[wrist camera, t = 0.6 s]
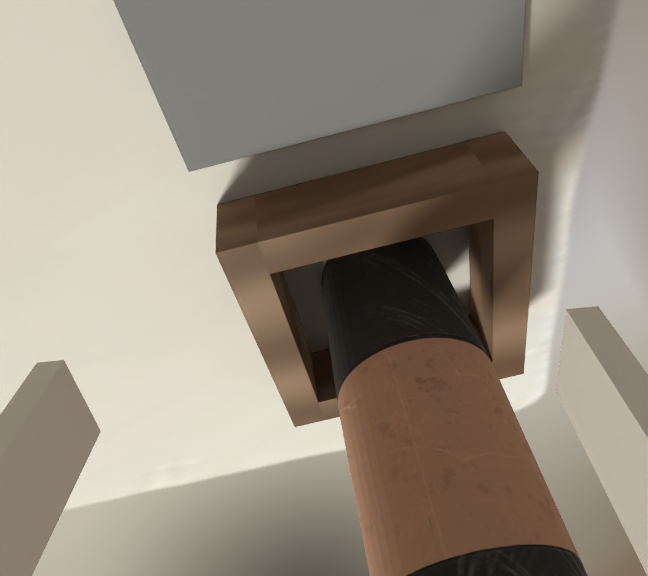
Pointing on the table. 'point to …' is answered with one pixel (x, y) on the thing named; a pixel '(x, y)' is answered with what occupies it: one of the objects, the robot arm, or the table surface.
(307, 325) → the table surface
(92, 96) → the table surface
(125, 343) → the table surface
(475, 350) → the travel mug
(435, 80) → the rubber mat
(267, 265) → the frame
